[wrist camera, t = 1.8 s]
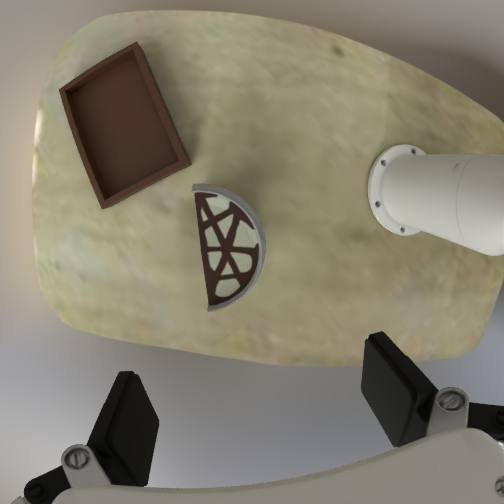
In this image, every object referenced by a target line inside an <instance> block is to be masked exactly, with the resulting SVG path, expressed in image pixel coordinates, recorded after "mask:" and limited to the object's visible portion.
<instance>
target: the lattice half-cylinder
mask: <svg viewBox="0 0 504 504" xmlns="http://www.w3.org/2000/svg"><path fill="white" fill-rule="evenodd" d="M192 192H193V193H195V203H196V210H197V219H198V228H199V236H200V245H201V254H202V260H203V267H204V274H205V281H206V288H207V295H208V312H210V311H215V310H219V309H222V308H225V307H227V306H229V305H231V304H233V303H235V302H236V301H238V300H239V299H241V298H242V297H243V296H244V295H245V294H246V293H247V292H248V291H249V290H250V289H251V288H252V286H253V285H254V284H255V282H256V280H257V278H258V277H259V275H260V272H261V269H262V266H263V263H264V258H265V252H266V242H265V235H264V231H263V228H262V225H261V222H260V220H259V218H258V216H257V215H256V213H255V212H254V210H253V209H252V208H251V206H250V205H249V204H248V203H247V202H246V201H245V200H244V199H242V198H241V197H240V196H238V195H237V194H235V193H234V192H232V191H230V190H228V189H225V188H223V187H219V186H216V185H211V184H193V187H192Z"/></svg>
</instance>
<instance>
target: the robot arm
mask: <svg viewBox="0 0 504 504" xmlns="http://www.w3.org/2000/svg"><path fill="white" fill-rule="evenodd" d="M381 162H382V164H381ZM368 199H369V203H370V206H371V209H372V211H373V213H374V216H375V217H376V219H377V220H378V221H379V223H380V224H381V225H382V226H383V227H384V228H386V229H388V230H389V231H391V232H393V233H396V234H399V235H413V234H416V233H418V232H420V231H424V232H427V233H430V234H433V235H435V236H438V237H441V238H444V239H446V240H449V241H452V242H454V243H457V244H460V245H462V246H465V247H467V248H470V249H472V250H475V251H478V252H480V253H483V254H486V255H492V256H497V255H503V254H504V155H494V154H433V155H427V154H426V153H425V152H424V151H423V150H421V149H419V148H417V147H416V146H412V145H405V144H401V145H395V146H392V147H389V148H388V149H386V150H385V151H383V152H382V153H381V154H380V155H379V156H378V157H377V159H376V161H375V162H374V164H373V166H372V168H371V171H370V174H369V179H368ZM375 203H376V205H375ZM361 390H362V393H363V395H364V397H365V399H366V400H367V402H368V404H369V405H370V407H371V409H372V411H373V412H374V414H375V416H376V417H377V419H378V421H379V422H380V424H381V426H382V428H383V429H384V431H385V433H386V435H387V436H388V438H389V440H390V442H391V443H392V445H393V446H394V447H398V448H396V449H393V450H390V451H388V452H385V453H382V454H379V455H376V456H374V457H370V458H367V459H365V460H361V461H358V462H355V463H352V464H349V465H345V466H342V467H338V468H335V469H331V470H327V471H323V472H319V473H315V474H310V475H306V476H301V477H296V478H291V479H286V480H280V481H274V482H267V483H260V484H252V485H243V486H232V487H217V488H151V487H144V486H147V484H148V479H149V473H150V468H151V463H152V458H153V453H154V448H155V442H156V437H157V433H158V427H159V419H158V416H157V414H156V412H155V410H154V408H153V406H152V404H151V402H150V400H149V398H148V395H147V393H146V391H145V389H144V386H143V384H142V382H141V379H140V377H139V375H137V374H135V373H134V372H133V371H121V372H119V373H118V376H117V377H116V380H115V382H114V384H113V386H112V388H111V390H110V393H109V395H108V397H107V399H106V402H105V403H104V405H103V407H102V409H101V412H100V414H99V416H98V418H97V421H96V423H95V425H94V428H93V430H92V433H91V435H90V437H89V440H88V442H87V445H82V444H77V445H73V446H71V447H69V448H67V449H66V450H65V451H64V453H63V454H62V457H61V463H62V465H61V466H59V467H58V468H56V469H54V470H52V471H49V472H47V473H45V474H43V475H41V476H39V477H37V478H34V479H32V480H31V481H29V482H28V483H27V484H26V486H25V488H24V497H23V498H22V497H20V496H19V497H18V498H17V499H16V500H14V501H13V502H12V503H11V504H504V406H497V405H487V404H479V403H471V402H469V398H468V396H467V394H466V393H465V392H464V391H463V390H461V389H459V388H454V387H447V388H443V389H442V390H440V391H438V389H436V387H435V386H434V385H433V384H432V383H431V382H430V380H429V379H428V378H427V377H426V376H425V375H424V374H423V373H422V371H420V369H419V368H418V367H417V366H416V365H415V364H414V363H413V361H412V360H411V359H410V358H409V357H408V356H406V355H404V353H403V352H402V351H401V350H400V349H399V348H398V347H397V346H396V345H395V344H394V343H393V342H392V340H391V339H390V338H389V337H388V336H387V335H386V334H385V333H384V332H383V331H381V332H377V333H374V334H370V335H369V337H368V339H366V340H365V349H364V361H363V373H362V383H361Z"/></svg>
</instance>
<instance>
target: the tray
mask: <svg viewBox="0 0 504 504" xmlns="http://www.w3.org/2000/svg"><path fill="white" fill-rule="evenodd" d="M59 92H60V95H61V99H62V102H63V105H64V109H65V112H66V115H67V118H68V122H69V125H70V128H71V131H72V134H73V137H74V139H75V142H76V145H77V148H78V151H79V153H80V156H81V159H82V161H83V164H84V167H85V169H86V172H87V174H88V177H89V179H90V182H91V184H92V187H93V189H94V191H95V194H96V196H97V199H98V201H99V203H100V205H101V208H102V209H105V208H108V207H111V206H113V205H115V204H117V203H118V202H120V201H122V200H124V199H126V198H127V197H129V196H131V195H133V194H135V193H137V192H139V191H140V190H142V189H144V188H146V187H148V186H150V185H152V184H154V183H156V182H158V181H160V180H162V179H164V178H166V177H168V176H170V175H172V174H174V173H176V172H178V171H180V170H182V169H184V168H186V167H188V166H190V165H192V164H191V162H190V159H189V157H188V155H187V153H186V150H185V148H184V146H183V144H182V141H181V139H180V137H179V134H178V132H177V130H176V127H175V125H174V123H173V121H172V118H171V116H170V114H169V111H168V109H167V107H166V104H165V102H164V100H163V97H162V95H161V93H160V90H159V88H158V85H157V83H156V81H155V78H154V76H153V74H152V71H151V69H150V66H149V64H148V62H147V59H146V57H145V54H144V52H143V50H142V48H141V47H140V45H139V44H138V43H137V42H135V43H133V44H131V45H130V46H128V47H126V48H124V49H122V50H120V51H118V52H117V53H115V54H113V55H111V56H110V57H108V58H106V59H104V60H103V61H101V62H99V63H98V64H96V65H95V66H93V67H91V68H90V69H88V70H87V71H85V72H84V73H82V74H81V75H79V76H78V77H76V78H75V79H73V80H72V81H70V82H69V83H68V84H66V85H65V86H63V87H62V88H61V89H59Z"/></svg>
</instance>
